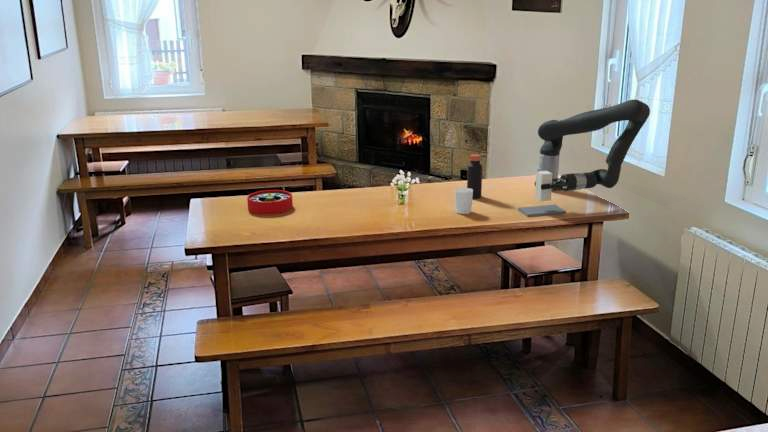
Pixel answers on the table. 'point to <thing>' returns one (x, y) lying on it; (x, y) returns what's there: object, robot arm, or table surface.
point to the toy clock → (270, 202)
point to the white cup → (463, 200)
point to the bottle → (475, 175)
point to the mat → (541, 210)
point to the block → (541, 178)
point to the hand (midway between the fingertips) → (538, 185)
